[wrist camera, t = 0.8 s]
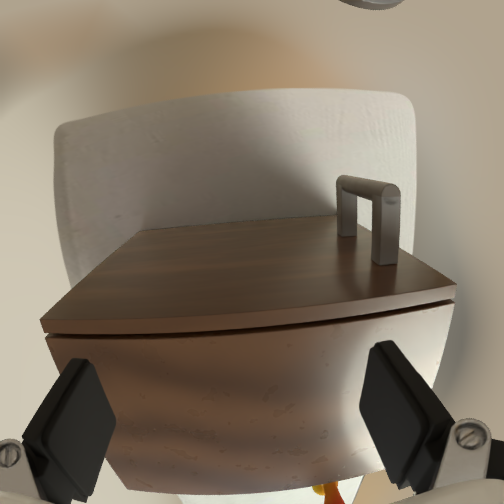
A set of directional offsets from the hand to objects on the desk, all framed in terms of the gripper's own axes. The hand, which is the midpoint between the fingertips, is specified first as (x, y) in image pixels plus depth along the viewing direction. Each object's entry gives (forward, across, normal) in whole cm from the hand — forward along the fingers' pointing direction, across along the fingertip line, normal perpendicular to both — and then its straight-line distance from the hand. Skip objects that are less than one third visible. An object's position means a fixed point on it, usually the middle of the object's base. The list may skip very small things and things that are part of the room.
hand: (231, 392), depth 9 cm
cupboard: (+31, -1, +11) cm, 33 cm away
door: (+31, -1, -2) cm, 31 cm away
